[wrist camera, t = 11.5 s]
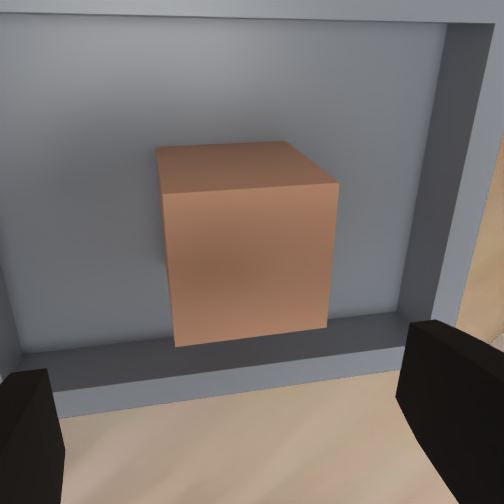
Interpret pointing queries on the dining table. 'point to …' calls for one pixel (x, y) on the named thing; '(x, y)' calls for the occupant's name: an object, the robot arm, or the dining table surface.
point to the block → (245, 239)
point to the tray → (223, 132)
